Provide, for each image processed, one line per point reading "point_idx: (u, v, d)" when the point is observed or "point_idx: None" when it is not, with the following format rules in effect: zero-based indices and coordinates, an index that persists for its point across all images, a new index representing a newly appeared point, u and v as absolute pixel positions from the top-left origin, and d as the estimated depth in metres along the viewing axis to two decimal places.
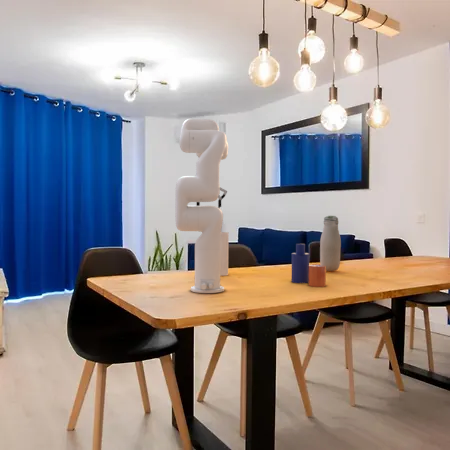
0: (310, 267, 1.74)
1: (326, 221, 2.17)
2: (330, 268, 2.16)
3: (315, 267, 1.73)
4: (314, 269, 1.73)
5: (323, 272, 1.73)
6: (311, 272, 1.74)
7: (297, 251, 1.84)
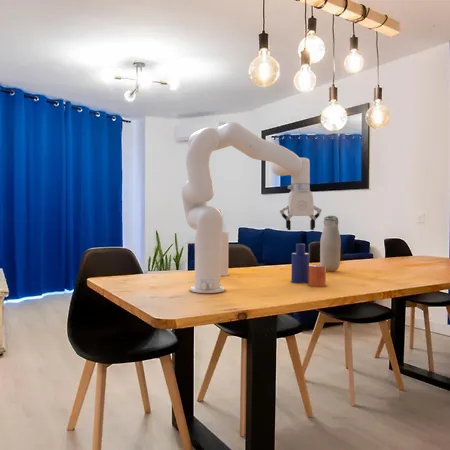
0: (310, 267, 1.74)
1: (326, 221, 2.17)
2: (330, 268, 2.16)
3: (315, 267, 1.73)
4: (314, 269, 1.73)
5: (323, 272, 1.73)
6: (311, 272, 1.74)
7: (297, 251, 1.84)
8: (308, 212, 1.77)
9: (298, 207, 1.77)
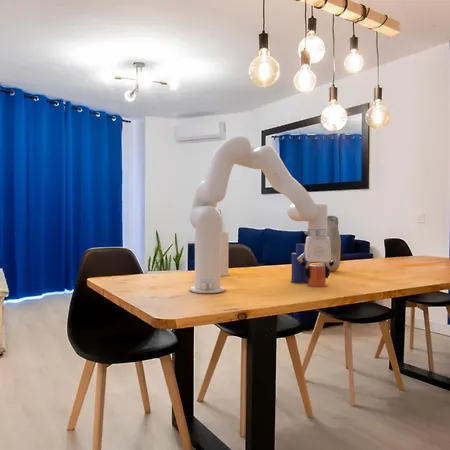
0: (310, 267, 1.74)
1: None
2: (330, 268, 2.16)
3: (315, 267, 1.73)
4: (314, 269, 1.73)
5: (323, 272, 1.73)
6: (311, 272, 1.74)
7: (297, 251, 1.84)
8: (325, 259, 1.73)
9: (315, 253, 1.73)
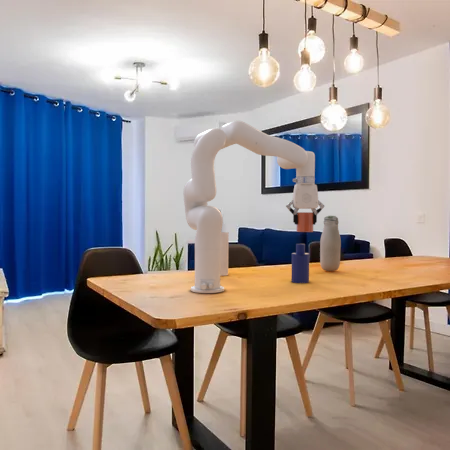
0: (298, 213, 1.80)
1: (326, 221, 2.17)
2: (330, 268, 2.16)
3: (303, 213, 1.79)
4: (302, 215, 1.79)
5: (310, 218, 1.79)
6: (299, 218, 1.80)
7: (297, 251, 1.84)
8: (312, 205, 1.79)
9: (303, 200, 1.79)
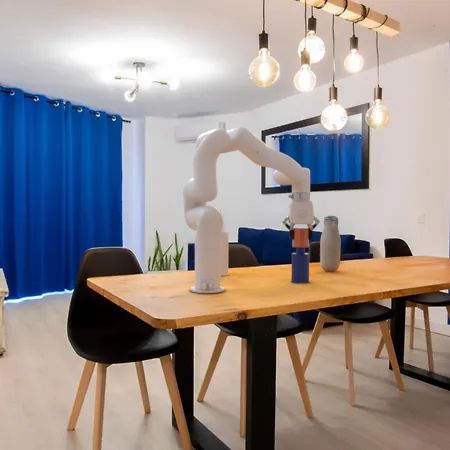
0: (294, 229, 1.83)
1: (326, 221, 2.17)
2: (330, 268, 2.16)
3: (298, 229, 1.81)
4: (297, 231, 1.82)
5: (306, 233, 1.82)
6: (294, 233, 1.83)
7: (297, 251, 1.84)
8: (308, 221, 1.82)
9: (298, 216, 1.81)
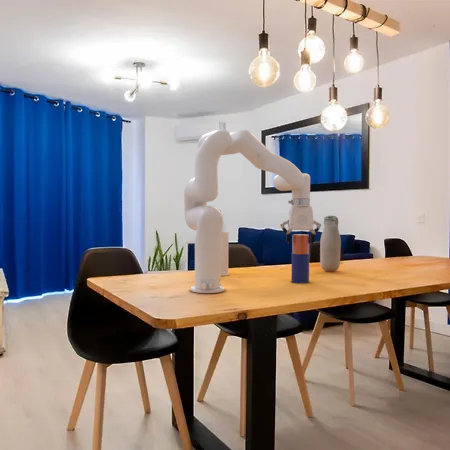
0: (294, 236, 1.83)
1: (326, 221, 2.17)
2: (330, 268, 2.16)
3: (298, 236, 1.81)
4: (297, 237, 1.82)
5: (306, 240, 1.82)
6: (294, 240, 1.83)
7: None
8: (308, 226, 1.82)
9: (298, 221, 1.81)
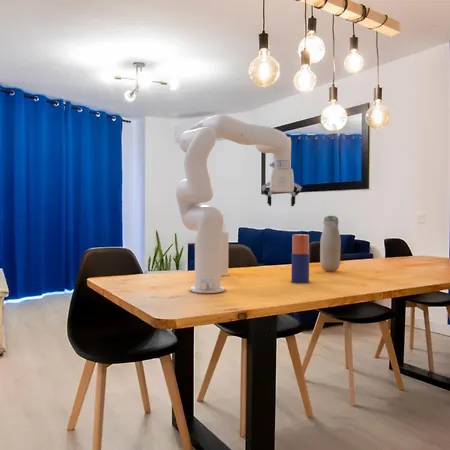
0: (294, 236, 1.83)
1: (326, 221, 2.17)
2: (330, 268, 2.16)
3: (298, 236, 1.81)
4: (297, 237, 1.82)
5: (306, 240, 1.82)
6: (294, 240, 1.83)
7: None
8: (288, 188, 1.84)
9: (279, 183, 1.84)
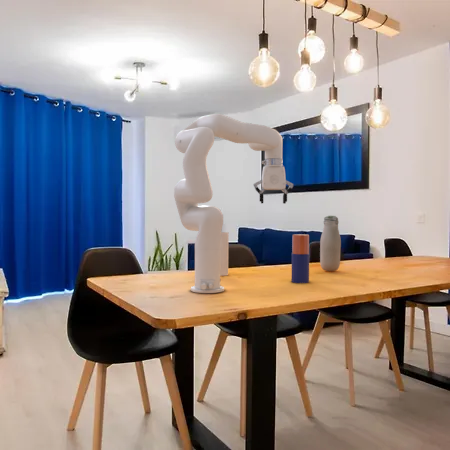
0: (294, 236, 1.83)
1: (326, 221, 2.17)
2: (330, 268, 2.16)
3: (298, 236, 1.81)
4: (297, 237, 1.82)
5: (306, 240, 1.82)
6: (294, 240, 1.83)
7: None
8: (280, 186, 1.86)
9: (270, 181, 1.86)
